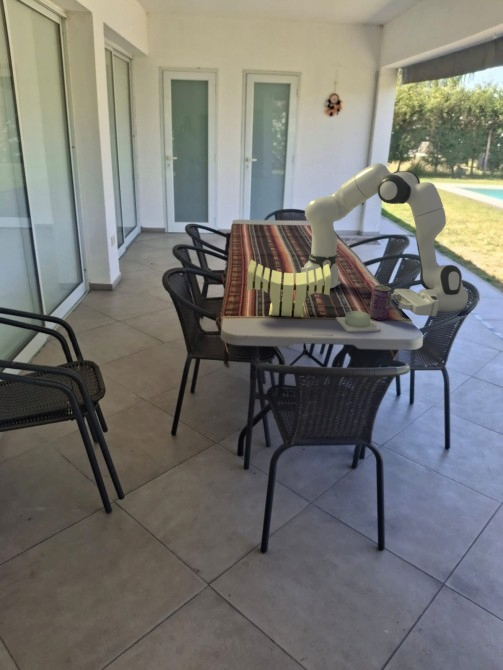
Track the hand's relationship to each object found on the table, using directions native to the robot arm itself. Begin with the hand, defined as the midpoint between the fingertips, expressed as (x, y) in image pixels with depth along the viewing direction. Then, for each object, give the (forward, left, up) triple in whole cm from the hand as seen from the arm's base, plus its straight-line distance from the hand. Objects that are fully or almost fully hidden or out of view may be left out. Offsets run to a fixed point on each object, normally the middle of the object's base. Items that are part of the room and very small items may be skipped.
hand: (392, 301), depth 185 cm
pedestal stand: (+7, -16, -6) cm, 18 cm away
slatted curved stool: (-9, -39, -7) cm, 40 cm away
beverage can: (0, -5, -7) cm, 8 cm away
